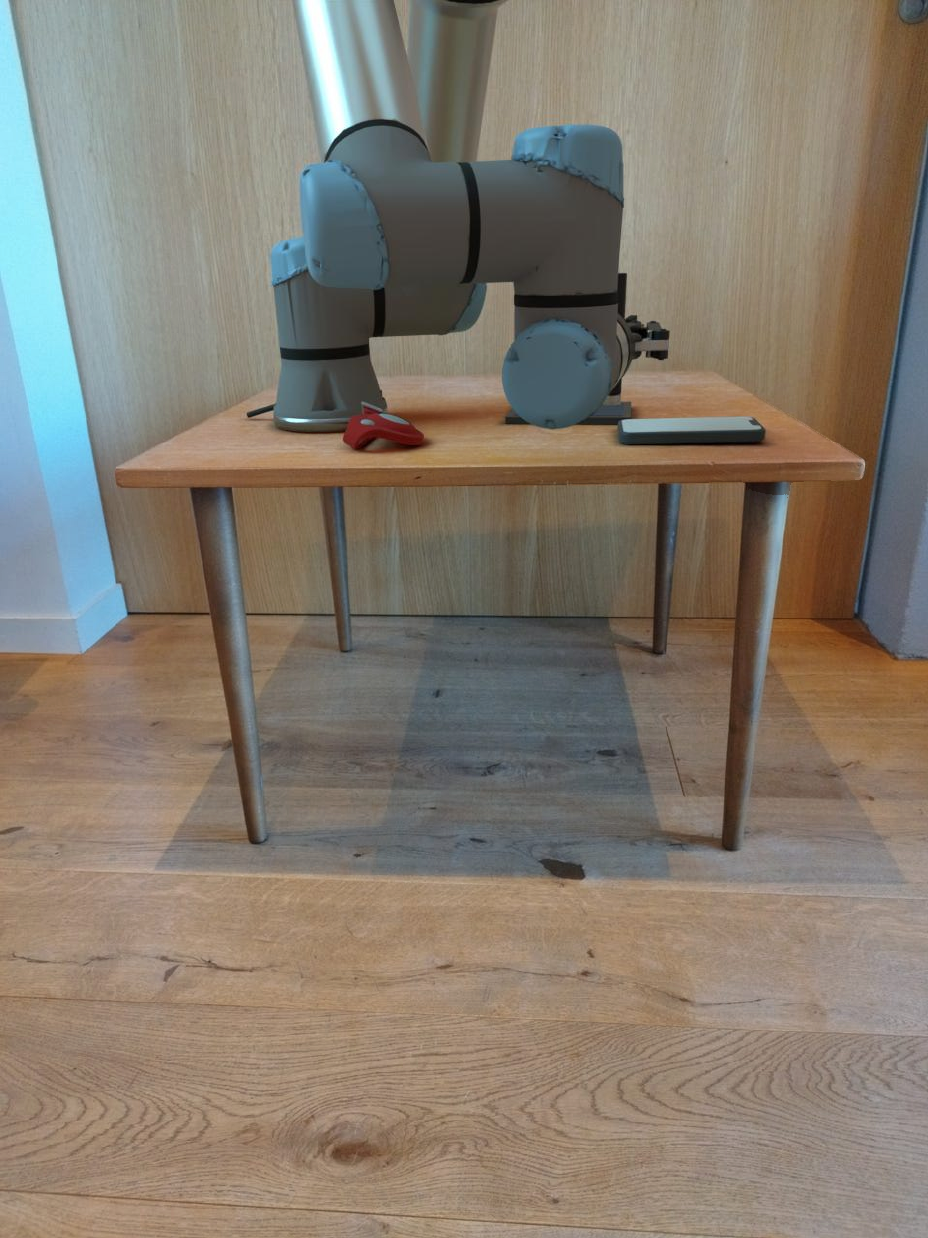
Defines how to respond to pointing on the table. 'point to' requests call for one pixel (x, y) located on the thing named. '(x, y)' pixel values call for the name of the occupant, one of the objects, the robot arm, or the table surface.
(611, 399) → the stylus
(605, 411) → the tablet
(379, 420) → the red curved piece
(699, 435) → the phone case
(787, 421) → the table surface
